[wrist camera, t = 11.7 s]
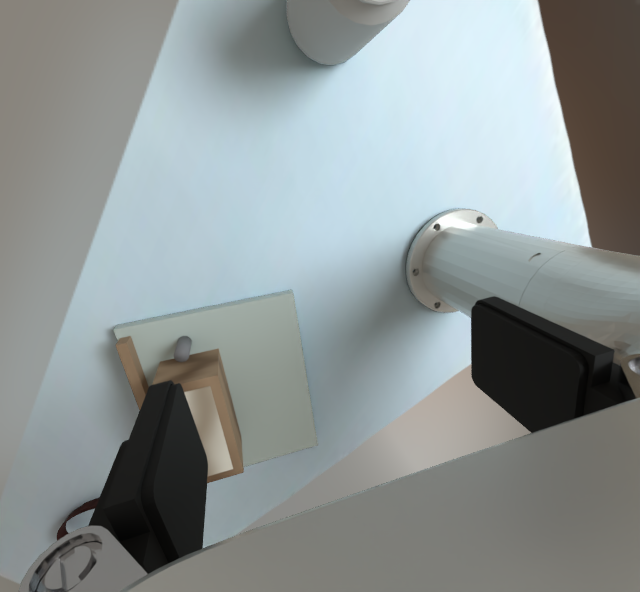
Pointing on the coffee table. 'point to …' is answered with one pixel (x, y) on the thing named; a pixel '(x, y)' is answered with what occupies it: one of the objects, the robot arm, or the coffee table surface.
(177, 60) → the coffee table surface
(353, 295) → the coffee table surface
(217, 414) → the wooden box
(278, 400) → the wall board
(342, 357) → the coffee table surface
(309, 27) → the can
